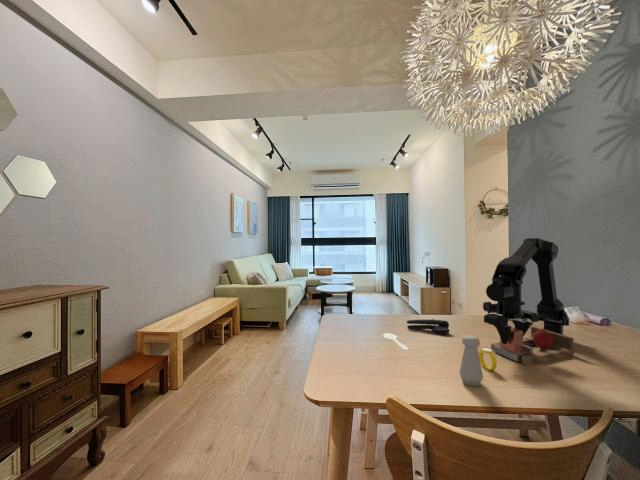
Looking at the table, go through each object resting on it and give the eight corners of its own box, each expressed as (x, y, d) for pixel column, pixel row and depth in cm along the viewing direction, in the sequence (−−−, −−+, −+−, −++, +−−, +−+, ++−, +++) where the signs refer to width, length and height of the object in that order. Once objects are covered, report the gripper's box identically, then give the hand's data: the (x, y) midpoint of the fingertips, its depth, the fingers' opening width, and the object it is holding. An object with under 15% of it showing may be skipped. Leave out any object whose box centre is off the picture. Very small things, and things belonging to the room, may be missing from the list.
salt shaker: (455, 377, 80) (454, 333, 80) (473, 376, 80) (473, 332, 80) (467, 388, 74) (467, 340, 74) (487, 387, 74) (487, 340, 74)
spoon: (400, 351, 99) (400, 350, 99) (380, 334, 117) (380, 333, 117) (413, 350, 100) (413, 348, 100) (391, 333, 118) (391, 332, 118)
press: (508, 348, 99) (508, 324, 99) (532, 358, 91) (532, 331, 91) (493, 351, 97) (493, 326, 97) (517, 361, 89) (517, 334, 89)
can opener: (450, 331, 119) (449, 318, 119) (449, 336, 113) (449, 323, 113) (408, 325, 128) (408, 314, 128) (405, 330, 122) (405, 317, 122)
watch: (477, 365, 88) (475, 346, 88) (484, 364, 88) (483, 346, 89) (491, 373, 82) (490, 352, 82) (499, 372, 82) (498, 352, 83)
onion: (557, 353, 95) (557, 331, 95) (538, 352, 96) (538, 330, 96) (547, 347, 101) (546, 325, 101) (529, 346, 102) (529, 324, 102)
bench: (533, 341, 106) (533, 326, 106) (573, 355, 94) (573, 337, 94) (491, 349, 100) (490, 332, 100) (527, 364, 87) (527, 346, 87)
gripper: (508, 291, 104) (508, 332, 104) (470, 295, 99) (470, 338, 99) (539, 297, 94) (539, 342, 94) (499, 301, 88) (499, 349, 88)
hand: (511, 342), depth 94 cm, fingers open, 6 cm apart
